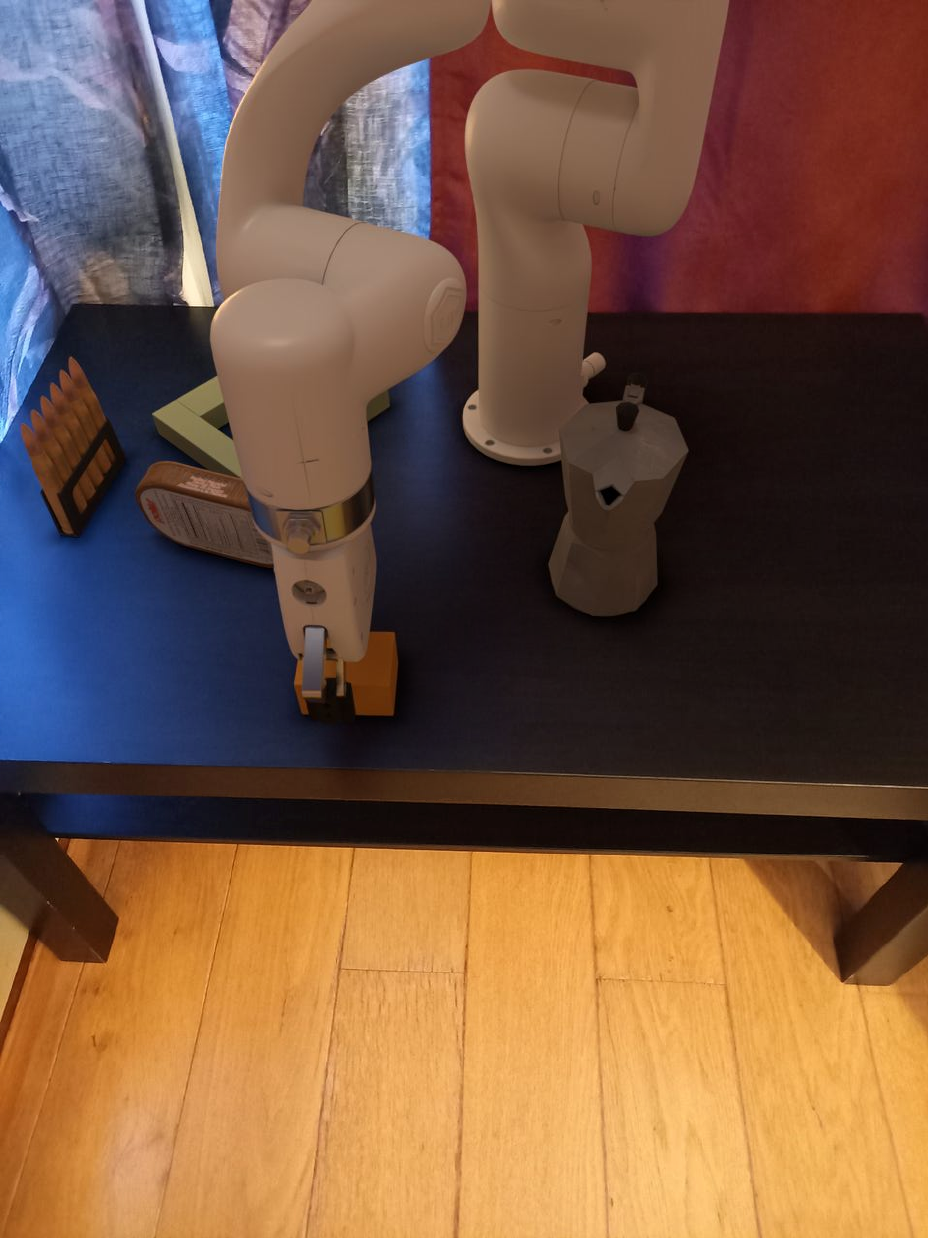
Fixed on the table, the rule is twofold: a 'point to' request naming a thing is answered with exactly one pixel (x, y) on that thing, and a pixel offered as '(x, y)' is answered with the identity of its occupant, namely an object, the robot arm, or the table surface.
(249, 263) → the robot arm
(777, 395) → the table surface
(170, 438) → the olive rectangular frame
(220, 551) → the tin
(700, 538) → the table surface
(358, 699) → the ochre box
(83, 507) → the ammunition clip
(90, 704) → the table surface
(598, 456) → the coffeepot
